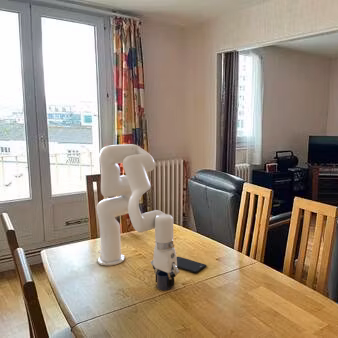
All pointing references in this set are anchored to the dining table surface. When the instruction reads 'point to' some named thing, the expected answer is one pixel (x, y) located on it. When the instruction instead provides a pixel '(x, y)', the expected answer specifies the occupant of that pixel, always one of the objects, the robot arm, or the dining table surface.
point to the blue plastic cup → (162, 280)
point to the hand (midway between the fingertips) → (164, 283)
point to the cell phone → (189, 265)
